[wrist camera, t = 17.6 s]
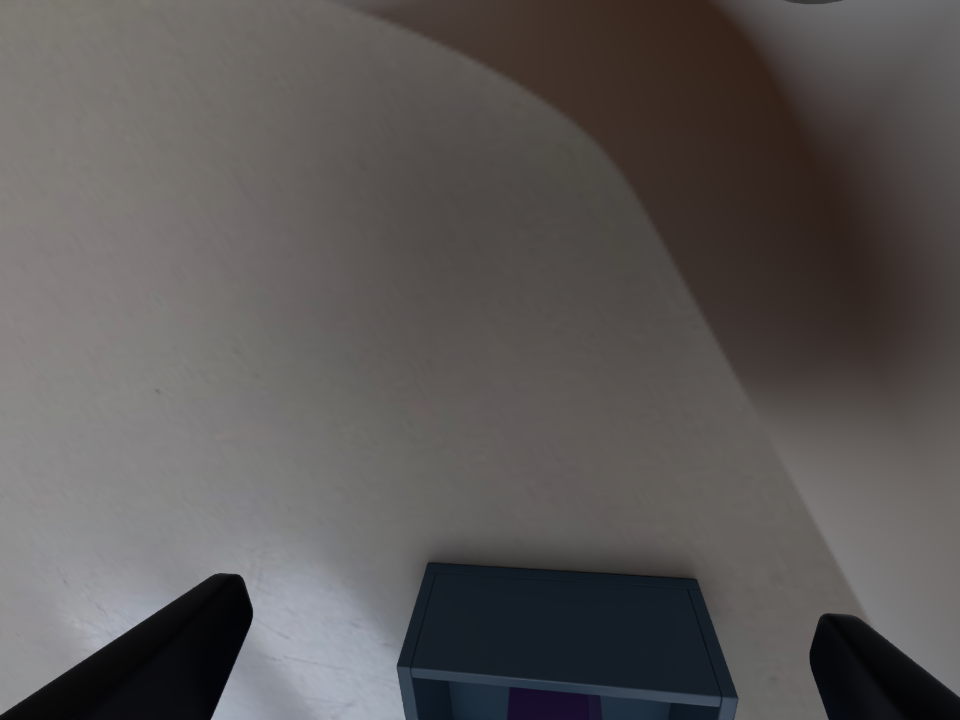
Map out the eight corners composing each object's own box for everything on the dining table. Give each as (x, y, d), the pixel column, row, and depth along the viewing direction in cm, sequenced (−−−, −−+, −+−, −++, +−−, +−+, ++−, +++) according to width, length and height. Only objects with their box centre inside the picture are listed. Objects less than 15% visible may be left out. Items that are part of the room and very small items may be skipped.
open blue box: (697, 578, 23) (739, 698, 18) (670, 750, 28) (698, 883, 23) (427, 562, 25) (395, 666, 20) (447, 726, 30) (426, 843, 25)
